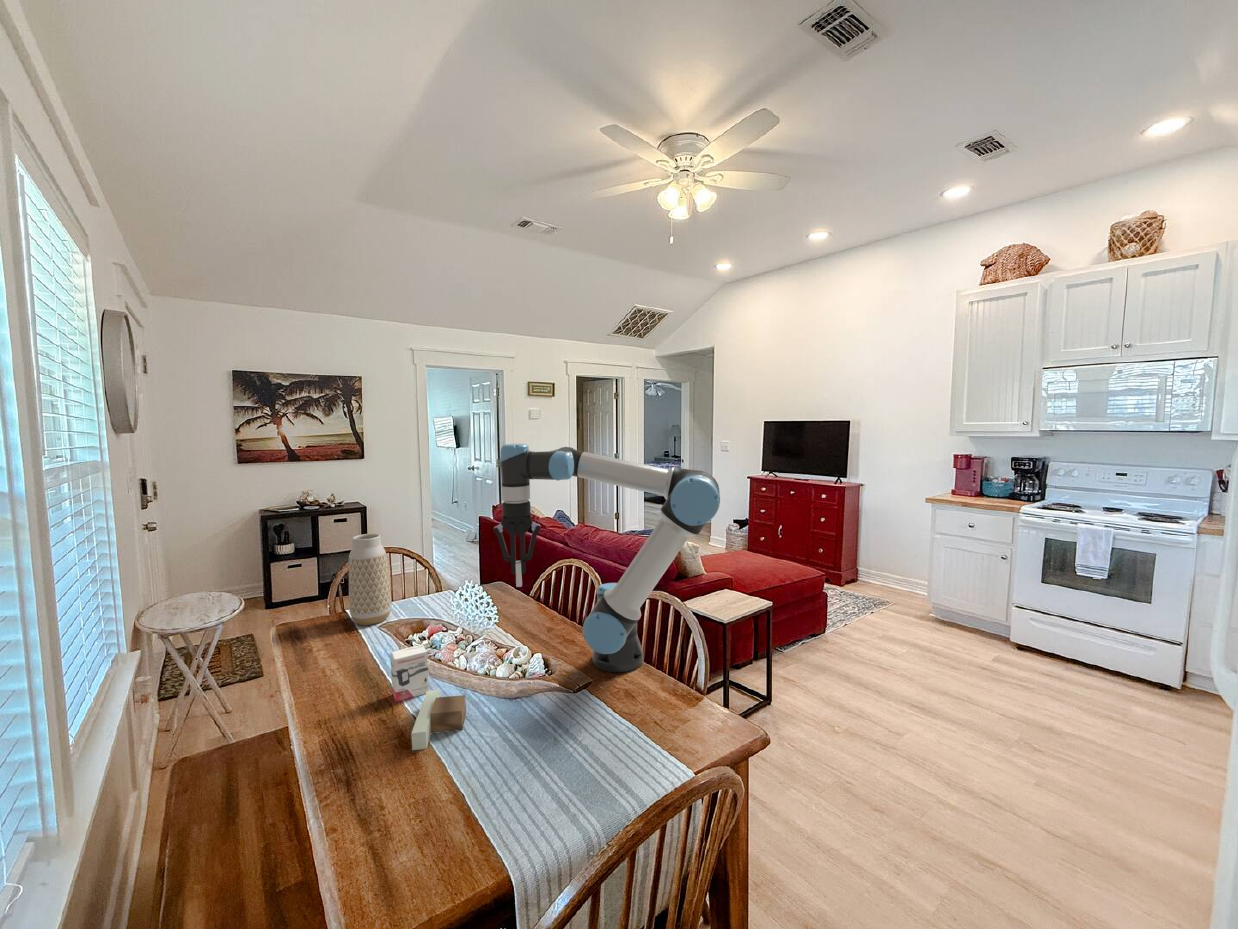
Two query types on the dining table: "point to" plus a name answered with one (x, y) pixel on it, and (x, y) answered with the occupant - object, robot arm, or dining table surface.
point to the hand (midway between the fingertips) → (519, 585)
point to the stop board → (424, 722)
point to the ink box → (409, 672)
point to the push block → (448, 714)
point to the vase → (368, 580)
